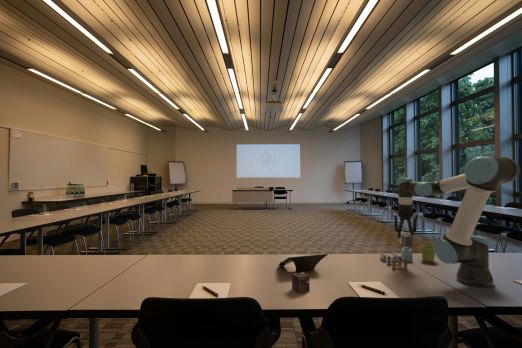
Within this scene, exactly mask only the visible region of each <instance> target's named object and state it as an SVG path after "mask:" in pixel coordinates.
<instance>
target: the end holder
mask: <svg viewBox="0 0 522 348" xmlns="http://www.w3.org/2000/svg"><path fill="white" fill-rule="evenodd" d="M399 256H400V255H399V254H397V253H395V252H392V257H391V263H392V259H394V260H395V263H399ZM380 260H381V261H383V262H384V263H388V257H387V255H386V254H385V253H383V252H380Z"/></svg>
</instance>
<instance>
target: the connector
mask: <svg viewBox="0 0 522 348" xmlns="http://www.w3.org/2000/svg"><path fill="white" fill-rule="evenodd" d="M400 256H401V257H402V262H404V259H406V260H407V263H408V262H410V263H411V262H413V261H414V260H413V249H411V248H410V247H404V246H403V248H401V249H400Z"/></svg>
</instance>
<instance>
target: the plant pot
mask: <svg viewBox="0 0 522 348" xmlns="http://www.w3.org/2000/svg"><path fill="white" fill-rule="evenodd" d="M419 249H420V252H421V258H422V260H423V262H425V263H429V262H431V263H434V261H435V256H436V253H435V251H434V245H426V244H424V245H423V244H422V245H420V246H419Z"/></svg>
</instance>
